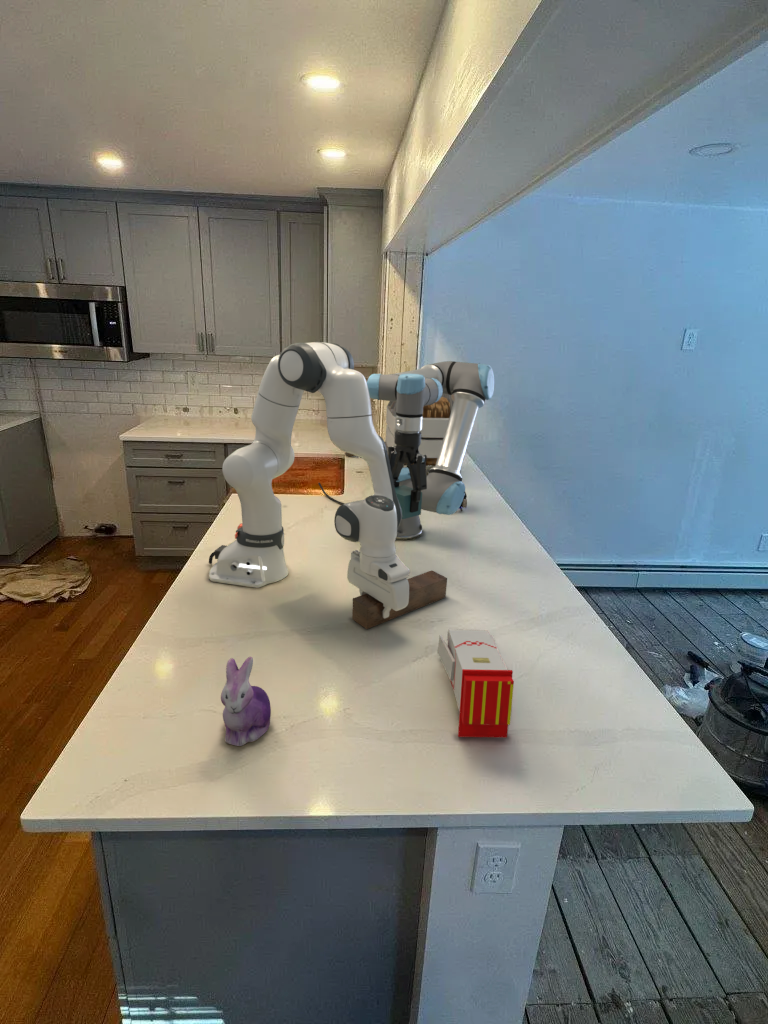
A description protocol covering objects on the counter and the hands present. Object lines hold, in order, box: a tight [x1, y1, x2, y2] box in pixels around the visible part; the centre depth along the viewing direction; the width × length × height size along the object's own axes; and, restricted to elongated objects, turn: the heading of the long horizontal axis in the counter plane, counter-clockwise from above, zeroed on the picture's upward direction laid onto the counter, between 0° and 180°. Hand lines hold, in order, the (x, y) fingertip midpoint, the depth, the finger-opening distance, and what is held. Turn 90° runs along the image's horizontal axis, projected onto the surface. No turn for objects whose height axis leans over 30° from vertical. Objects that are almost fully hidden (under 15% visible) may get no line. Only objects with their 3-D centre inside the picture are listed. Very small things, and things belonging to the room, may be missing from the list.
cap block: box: [395, 485, 422, 519], centre depth 166 cm, size 7×8×7 cm
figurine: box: [220, 656, 272, 747], centre depth 102 cm, size 9×10×15 cm
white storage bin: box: [384, 394, 462, 475], centre depth 268 cm, size 34×33×41 cm
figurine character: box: [459, 491, 468, 512], centre depth 228 cm, size 7×8×15 cm
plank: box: [351, 570, 448, 630], centre depth 150 cm, size 28×6×6 cm, turn 130°
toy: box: [437, 628, 515, 738], centre depth 117 cm, size 12×13×30 cm
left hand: (375, 610), depth 144 cm, fingers closed on plank, 6 cm apart
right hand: (403, 507), depth 167 cm, fingers closed on cap block, 8 cm apart
